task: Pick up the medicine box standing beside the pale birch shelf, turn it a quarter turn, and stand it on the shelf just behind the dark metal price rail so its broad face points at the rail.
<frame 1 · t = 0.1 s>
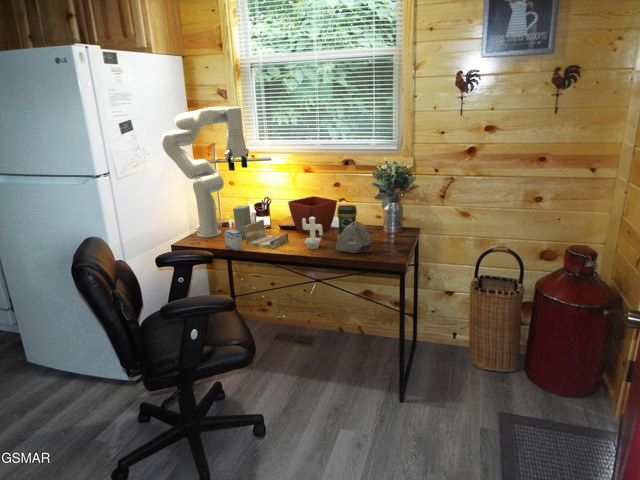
hand: (238, 168, 230), 37 cm above the table, tool pointing down, fingers open, 9 cm apart
skincare box: (244, 236, 248), on the table
shelf: (267, 242, 235), on the table
decorative rock: (353, 252, 216), on the table
medicine box: (234, 248, 228), on the table
figurine: (313, 247, 226), on the table
plant pot: (313, 231, 252), on the table
coffee jar: (347, 242, 233), on the table
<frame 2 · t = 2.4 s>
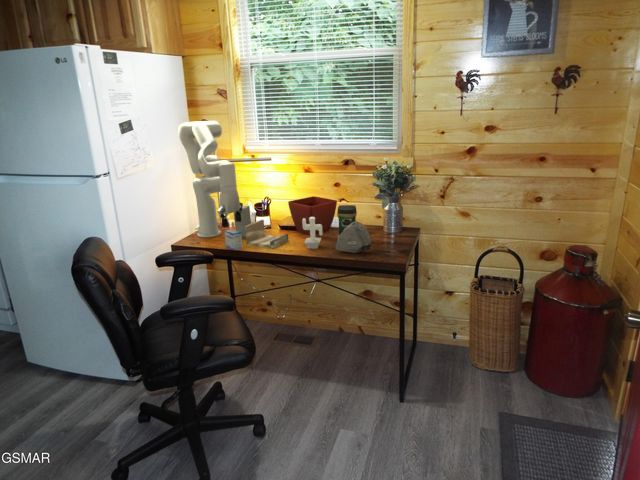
hand: (231, 223, 225), 12 cm above the table, tool pointing down, fingers open, 9 cm apart
nothing on the table moved.
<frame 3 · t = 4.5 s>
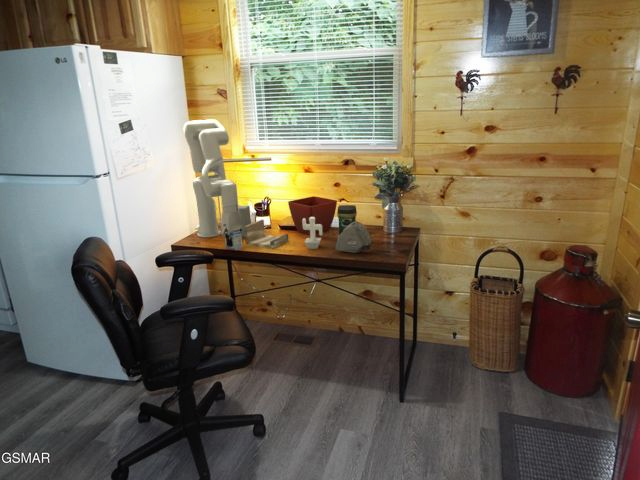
hand: (233, 244, 228), 2 cm above the table, tool pointing down, fingers closed on medicine box, 5 cm apart
medicine box: (234, 248, 228), on the table, touching gripper
everything else where it was.
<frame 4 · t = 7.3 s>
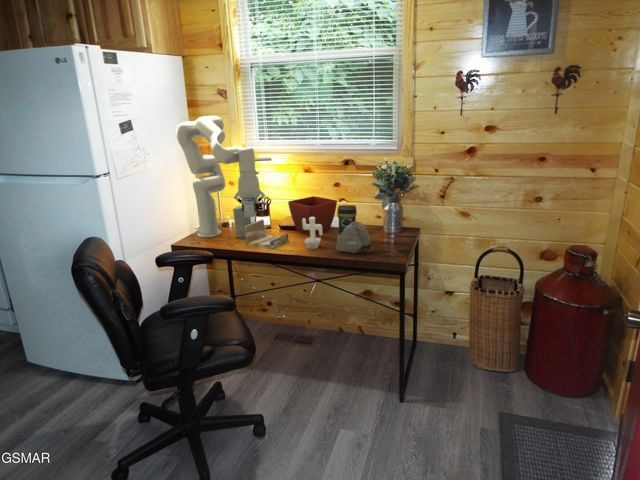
hand: (250, 211, 226), 18 cm above the table, tool pointing down, fingers closed on medicine box, 5 cm apart
medicine box: (251, 215, 226), point 15 cm above the table, touching gripper
everything else where it was.
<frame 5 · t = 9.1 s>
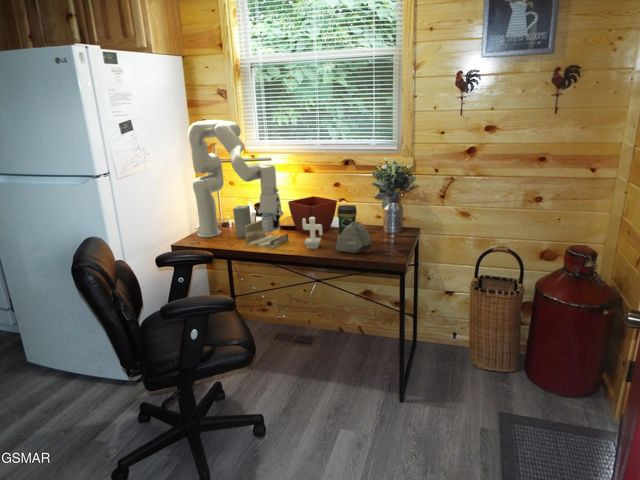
hand: (271, 226, 231), 9 cm above the table, tool pointing down, fingers closed on medicine box, 5 cm apart
medicine box: (271, 230, 232), point 7 cm above the table, touching gripper
everything else where it was.
when the fingers open (5 cm above the table, at t = 10.4 s): medicine box drops 1 cm, resting on shelf.
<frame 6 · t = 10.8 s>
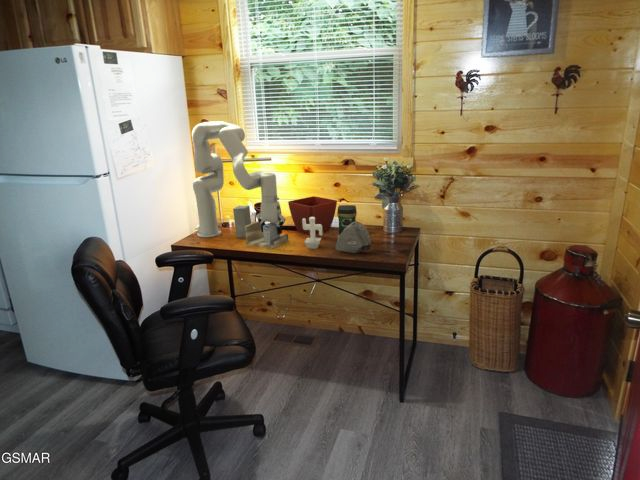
hand: (271, 232, 232), 6 cm above the table, tool pointing down, fingers open, 9 cm apart
medicine box: (272, 241, 233), point 1 cm above the table, touching shelf
everything else where it was.
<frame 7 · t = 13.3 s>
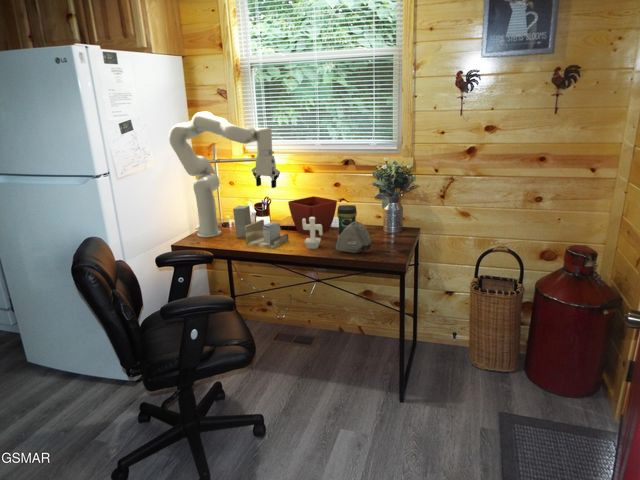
hand: (266, 186, 238), 26 cm above the table, tool pointing down, fingers open, 9 cm apart
nothing on the table moved.
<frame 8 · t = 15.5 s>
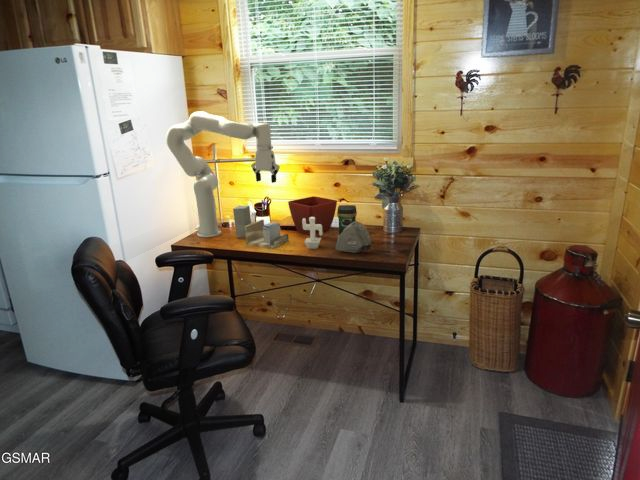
hand: (266, 181, 241), 28 cm above the table, tool pointing down, fingers open, 9 cm apart
nothing on the table moved.
at the end: medicine box 0.2 cm from the target spot, point 1.3 cm above the table; medicine box tilted 0°; the gripper is holding nothing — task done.
